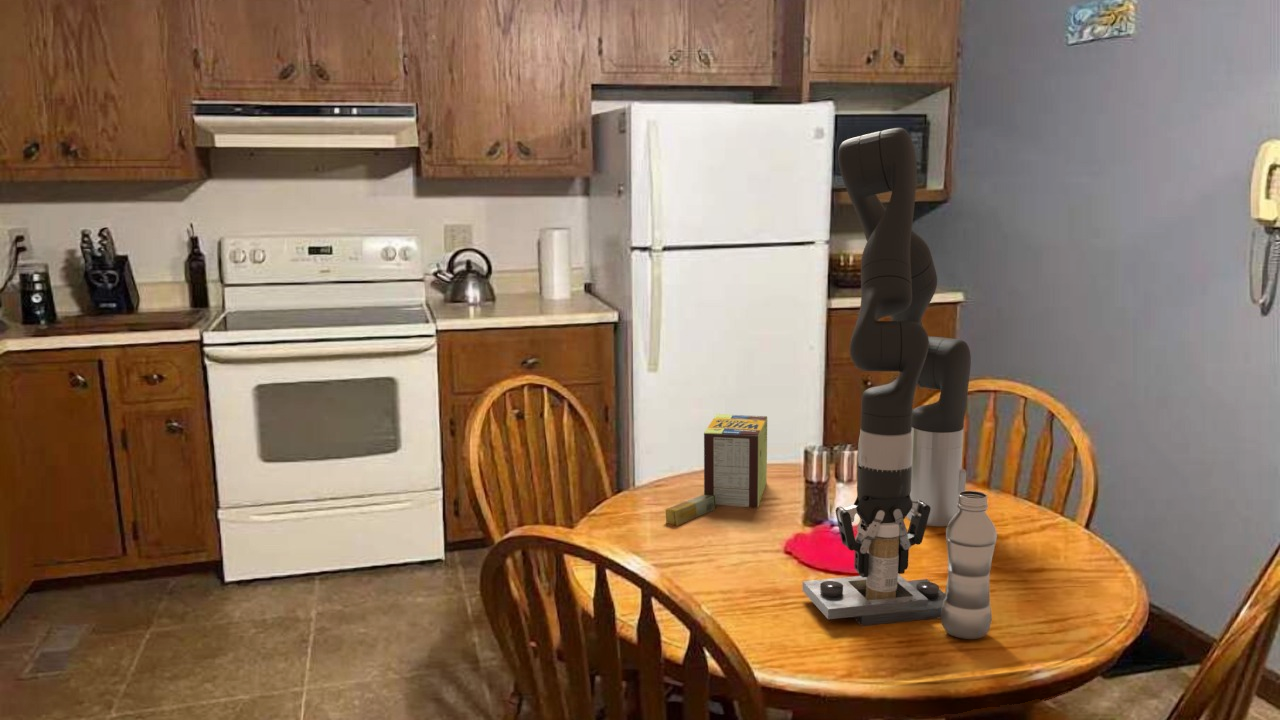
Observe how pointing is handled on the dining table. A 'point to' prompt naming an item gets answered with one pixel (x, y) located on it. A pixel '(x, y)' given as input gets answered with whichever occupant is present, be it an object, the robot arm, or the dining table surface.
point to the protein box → (736, 459)
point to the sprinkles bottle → (883, 563)
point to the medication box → (690, 509)
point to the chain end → (932, 612)
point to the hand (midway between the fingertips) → (880, 573)
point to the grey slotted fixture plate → (860, 598)
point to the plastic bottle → (969, 568)
